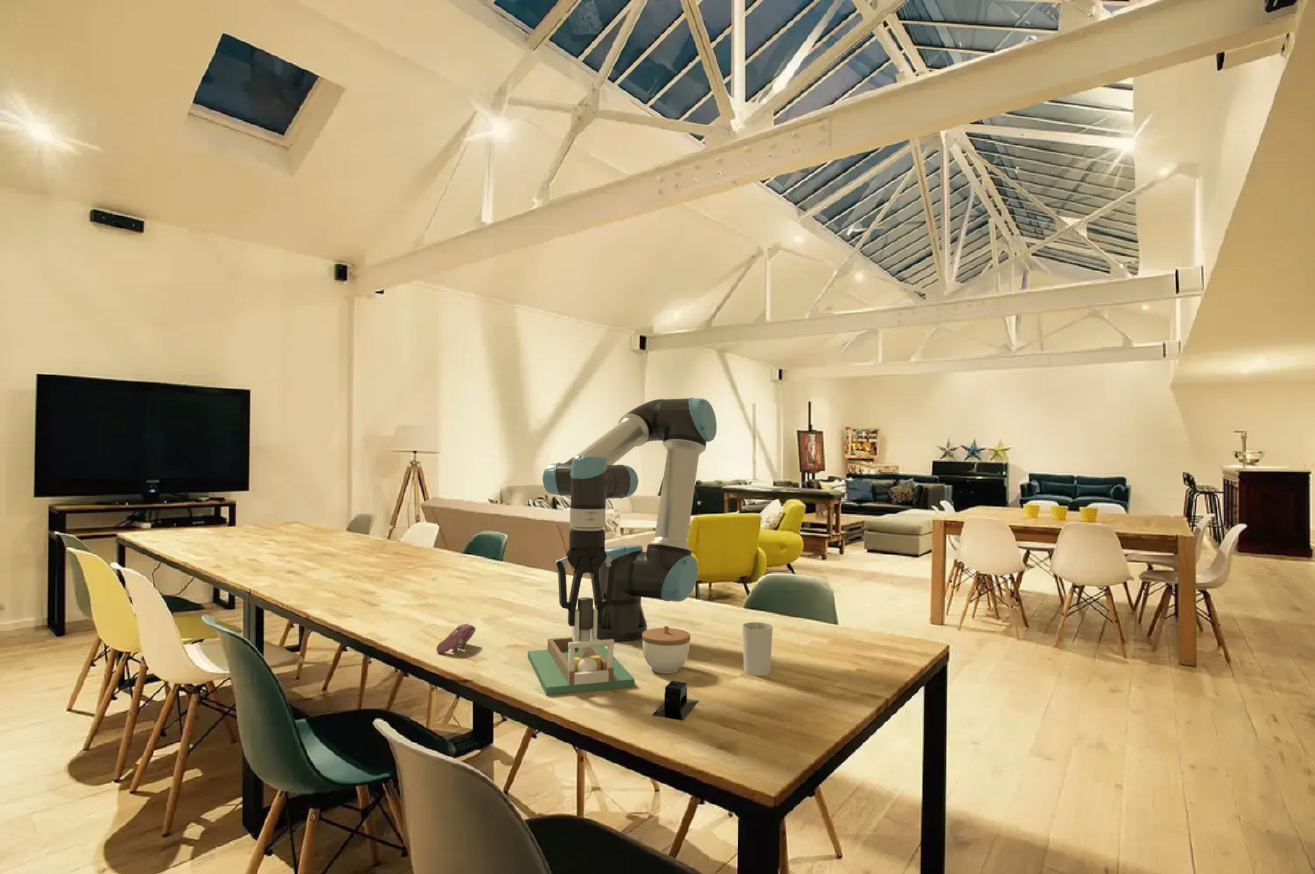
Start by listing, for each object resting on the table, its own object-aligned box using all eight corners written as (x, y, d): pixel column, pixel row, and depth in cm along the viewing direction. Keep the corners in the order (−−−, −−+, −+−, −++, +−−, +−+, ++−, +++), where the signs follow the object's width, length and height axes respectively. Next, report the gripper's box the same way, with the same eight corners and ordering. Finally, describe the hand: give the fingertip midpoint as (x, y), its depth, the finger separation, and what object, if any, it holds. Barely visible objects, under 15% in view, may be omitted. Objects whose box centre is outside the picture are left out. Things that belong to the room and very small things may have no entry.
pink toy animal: (449, 661, 152) (462, 635, 151) (433, 651, 152) (446, 625, 152) (469, 649, 161) (481, 625, 161) (454, 640, 162) (466, 615, 162)
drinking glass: (753, 678, 140) (754, 631, 140) (735, 668, 146) (736, 623, 146) (778, 674, 143) (778, 627, 143) (759, 665, 149) (760, 621, 149)
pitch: (603, 651, 157) (604, 611, 157) (634, 686, 133) (635, 638, 133) (527, 657, 151) (529, 615, 151) (546, 695, 127) (547, 645, 128)
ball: (600, 670, 132) (596, 680, 134) (597, 652, 134) (593, 662, 137) (581, 672, 130) (577, 682, 133) (578, 653, 133) (575, 663, 136)
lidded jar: (695, 665, 148) (696, 623, 149) (681, 679, 138) (682, 634, 138) (650, 659, 152) (651, 618, 152) (634, 673, 142) (635, 629, 142)
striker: (596, 667, 139) (598, 596, 140) (600, 672, 136) (602, 599, 137) (566, 669, 137) (568, 598, 138) (570, 674, 134) (572, 601, 135)
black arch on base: (667, 696, 130) (668, 671, 130) (705, 701, 127) (706, 676, 127) (644, 721, 117) (645, 693, 117) (685, 727, 115) (686, 699, 115)
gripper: (552, 530, 132) (548, 648, 131) (629, 529, 137) (626, 642, 136) (545, 527, 139) (542, 638, 138) (619, 526, 144) (616, 633, 143)
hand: (584, 640), depth 137 cm, fingers closed on striker, 3 cm apart
